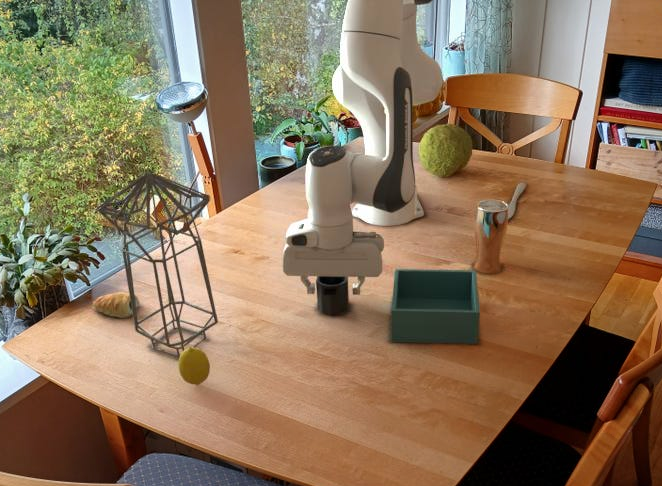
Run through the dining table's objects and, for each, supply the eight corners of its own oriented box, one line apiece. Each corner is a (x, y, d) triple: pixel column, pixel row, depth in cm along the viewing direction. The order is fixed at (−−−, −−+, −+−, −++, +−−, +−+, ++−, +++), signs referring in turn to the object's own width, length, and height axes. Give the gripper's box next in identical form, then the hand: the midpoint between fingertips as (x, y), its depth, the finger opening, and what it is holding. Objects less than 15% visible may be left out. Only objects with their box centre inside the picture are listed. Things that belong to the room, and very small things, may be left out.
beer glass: (502, 275, 164) (509, 212, 155) (470, 273, 165) (475, 211, 157) (503, 261, 170) (509, 199, 161) (472, 259, 171) (477, 198, 162)
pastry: (88, 315, 157) (84, 300, 155) (103, 300, 162) (99, 284, 160) (129, 319, 155) (125, 303, 153) (143, 303, 160) (139, 287, 158)
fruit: (470, 184, 207) (447, 141, 198) (426, 194, 216) (403, 153, 208) (486, 148, 216) (465, 105, 207) (443, 159, 225) (421, 118, 216)
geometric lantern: (180, 314, 156) (149, 152, 136) (236, 336, 148) (212, 167, 128) (123, 350, 145) (80, 180, 125) (180, 376, 138) (144, 199, 118)
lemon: (183, 376, 138) (176, 340, 133) (213, 374, 138) (207, 338, 133) (180, 394, 133) (173, 358, 128) (211, 392, 133) (205, 355, 129)
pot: (321, 296, 160) (319, 267, 156) (350, 297, 159) (349, 268, 155) (315, 318, 152) (313, 289, 148) (346, 319, 152) (345, 289, 148)
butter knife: (530, 183, 205) (519, 181, 206) (507, 223, 185) (496, 221, 186) (529, 185, 205) (519, 183, 206) (507, 225, 185) (495, 223, 186)
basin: (394, 298, 158) (394, 269, 154) (473, 300, 156) (475, 270, 152) (391, 341, 144) (391, 310, 140) (477, 344, 143) (480, 312, 138)
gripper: (384, 225, 147) (384, 286, 155) (283, 224, 149) (288, 285, 157) (383, 238, 142) (383, 301, 150) (277, 238, 144) (283, 299, 152)
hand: (333, 293), depth 153 cm, fingers open, 8 cm apart
